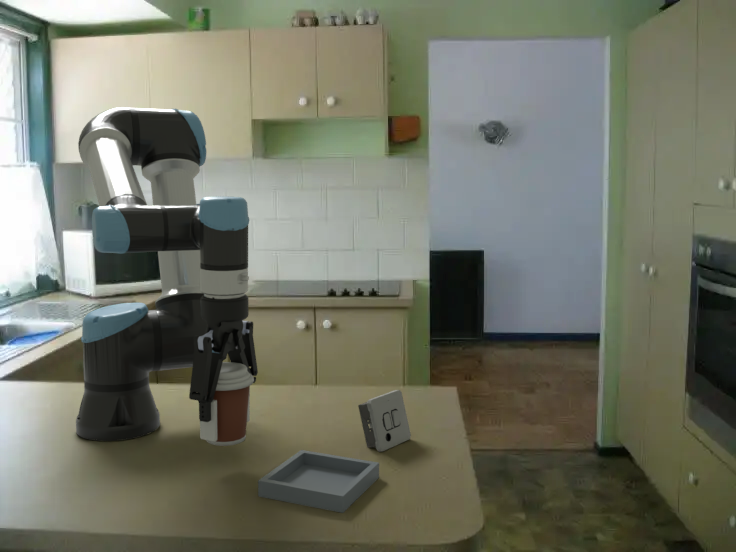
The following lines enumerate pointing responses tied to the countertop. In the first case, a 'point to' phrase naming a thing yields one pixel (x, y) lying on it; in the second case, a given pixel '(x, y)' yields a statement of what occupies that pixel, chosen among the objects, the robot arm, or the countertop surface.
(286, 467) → the dock tray
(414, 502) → the countertop surface
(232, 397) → the coffee cup
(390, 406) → the electrical switch
